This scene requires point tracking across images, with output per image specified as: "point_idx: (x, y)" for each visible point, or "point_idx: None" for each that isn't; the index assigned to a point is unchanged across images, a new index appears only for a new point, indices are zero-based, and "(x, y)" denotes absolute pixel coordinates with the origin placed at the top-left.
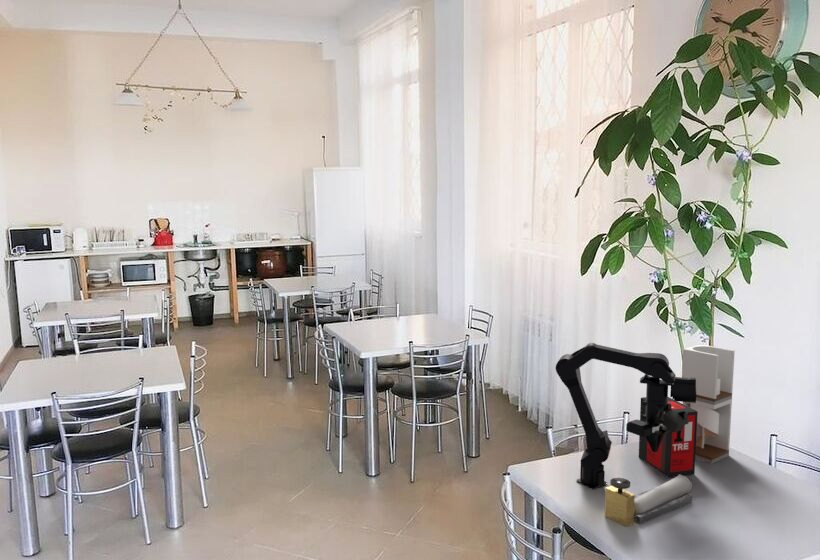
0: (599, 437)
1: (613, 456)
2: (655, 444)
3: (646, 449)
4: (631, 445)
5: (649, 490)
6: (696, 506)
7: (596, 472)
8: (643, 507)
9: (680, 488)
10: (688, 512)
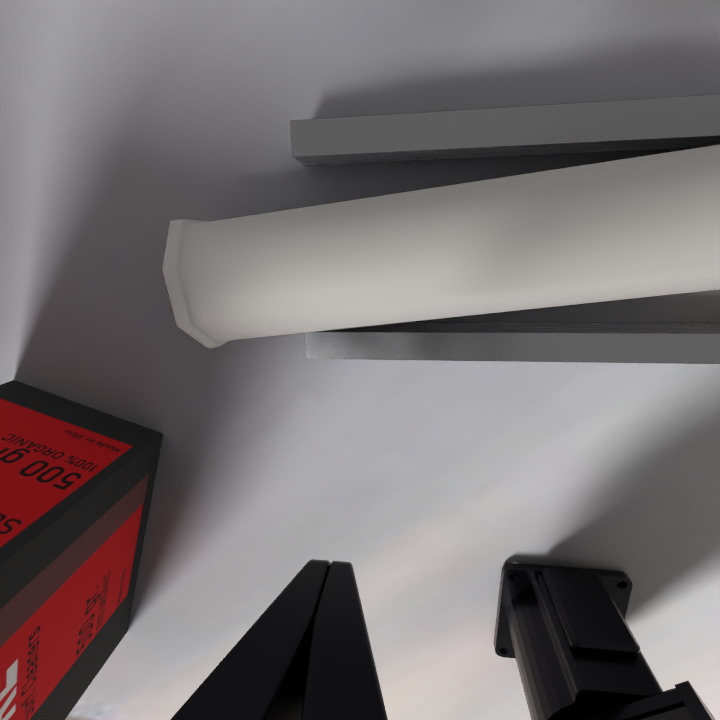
0: None
1: None
2: (380, 710)
3: (83, 654)
4: None
5: (463, 355)
6: (318, 79)
7: (644, 660)
8: None
9: (314, 206)
10: (443, 40)
